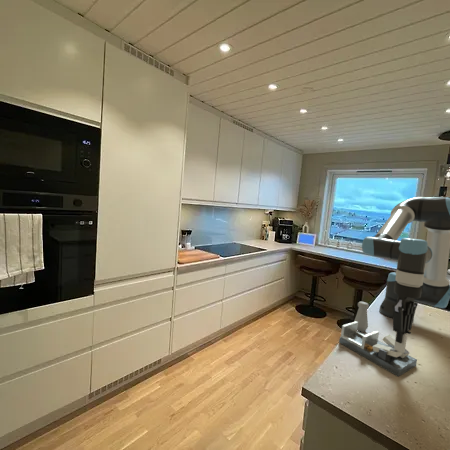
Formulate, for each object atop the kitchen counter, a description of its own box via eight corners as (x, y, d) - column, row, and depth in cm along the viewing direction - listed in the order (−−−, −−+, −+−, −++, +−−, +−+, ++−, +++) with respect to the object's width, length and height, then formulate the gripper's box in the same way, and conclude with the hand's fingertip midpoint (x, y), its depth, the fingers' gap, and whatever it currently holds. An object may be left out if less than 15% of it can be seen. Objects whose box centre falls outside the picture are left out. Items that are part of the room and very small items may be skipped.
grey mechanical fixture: (357, 336, 110) (359, 319, 109) (416, 366, 91) (419, 346, 91) (339, 342, 103) (341, 325, 102) (398, 376, 85) (401, 355, 84)
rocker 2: (387, 337, 99) (389, 334, 98) (407, 355, 93) (410, 352, 92) (382, 339, 97) (385, 336, 96) (402, 358, 91) (405, 354, 90)
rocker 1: (378, 348, 95) (377, 343, 95) (401, 354, 88) (401, 349, 89) (372, 350, 93) (372, 345, 94) (396, 357, 87) (395, 351, 87)
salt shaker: (354, 325, 120) (358, 299, 119) (368, 330, 117) (372, 302, 115) (351, 329, 116) (355, 302, 115) (365, 334, 112) (369, 306, 111)
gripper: (404, 279, 92) (396, 341, 94) (386, 282, 86) (378, 349, 87) (429, 285, 86) (420, 352, 88) (412, 289, 79) (402, 361, 81)
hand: (399, 350), depth 87 cm, fingers closed
